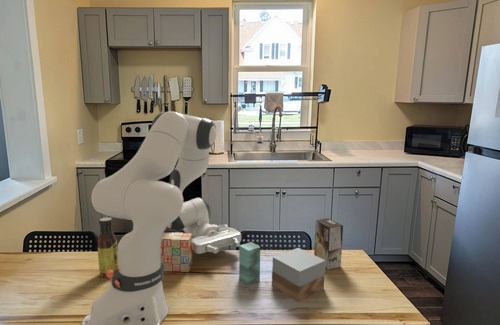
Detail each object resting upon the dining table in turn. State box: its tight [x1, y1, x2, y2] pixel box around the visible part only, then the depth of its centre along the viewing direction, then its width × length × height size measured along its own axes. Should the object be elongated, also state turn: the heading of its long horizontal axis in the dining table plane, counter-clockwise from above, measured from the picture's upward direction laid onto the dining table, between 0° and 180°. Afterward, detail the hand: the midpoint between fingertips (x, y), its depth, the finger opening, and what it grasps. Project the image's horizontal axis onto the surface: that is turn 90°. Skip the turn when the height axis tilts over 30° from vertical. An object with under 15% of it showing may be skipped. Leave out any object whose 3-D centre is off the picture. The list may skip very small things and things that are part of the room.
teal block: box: [238, 241, 261, 286], centre depth 114 cm, size 5×5×12 cm
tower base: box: [271, 271, 325, 302], centre depth 110 cm, size 12×12×5 cm
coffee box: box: [313, 217, 344, 270], centre depth 126 cm, size 9×6×16 cm
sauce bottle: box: [96, 216, 119, 278], centre depth 116 cm, size 7×6×20 cm
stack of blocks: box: [161, 232, 193, 273], centre depth 122 cm, size 21×6×12 cm, turn 89°
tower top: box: [271, 247, 326, 287], centre depth 110 cm, size 12×12×5 cm
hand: (227, 247), depth 124 cm, fingers open, 8 cm apart
